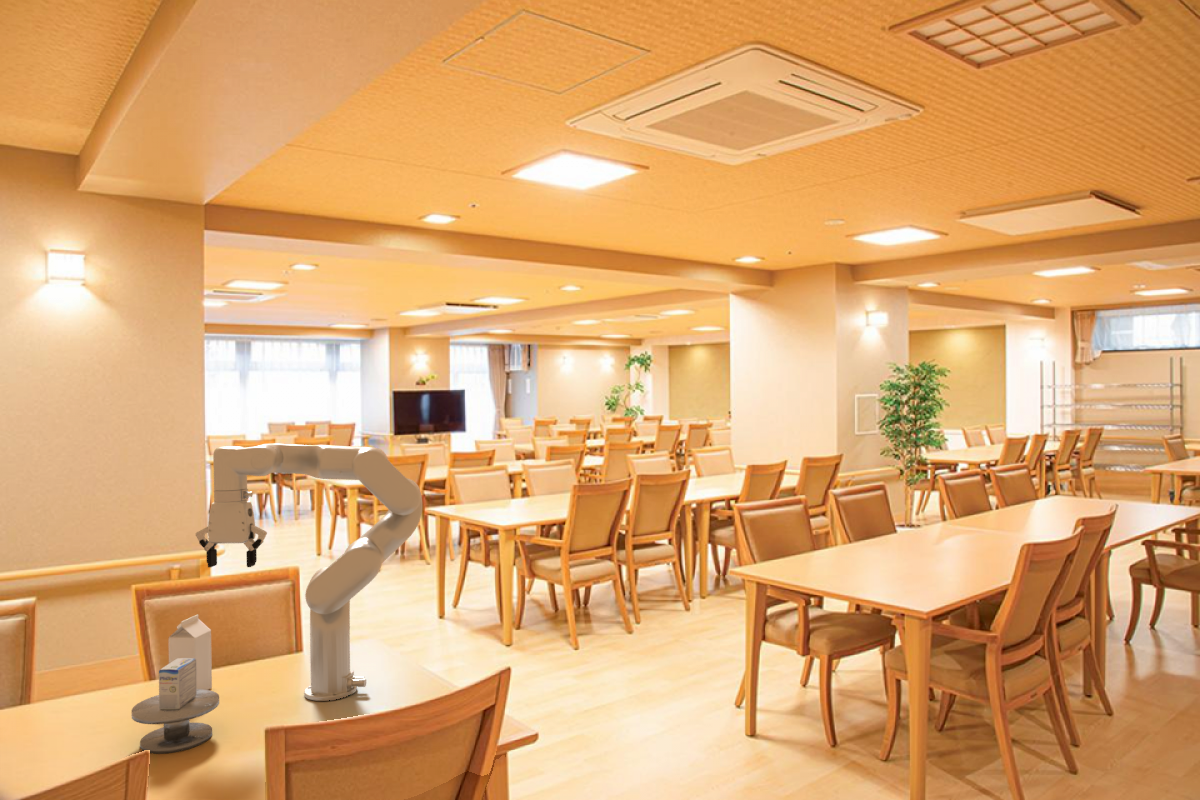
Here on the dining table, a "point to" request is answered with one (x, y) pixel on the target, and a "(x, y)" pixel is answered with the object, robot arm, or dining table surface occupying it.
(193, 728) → the cake stand
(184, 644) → the milk carton
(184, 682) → the medicine box
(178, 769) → the dining table surface
